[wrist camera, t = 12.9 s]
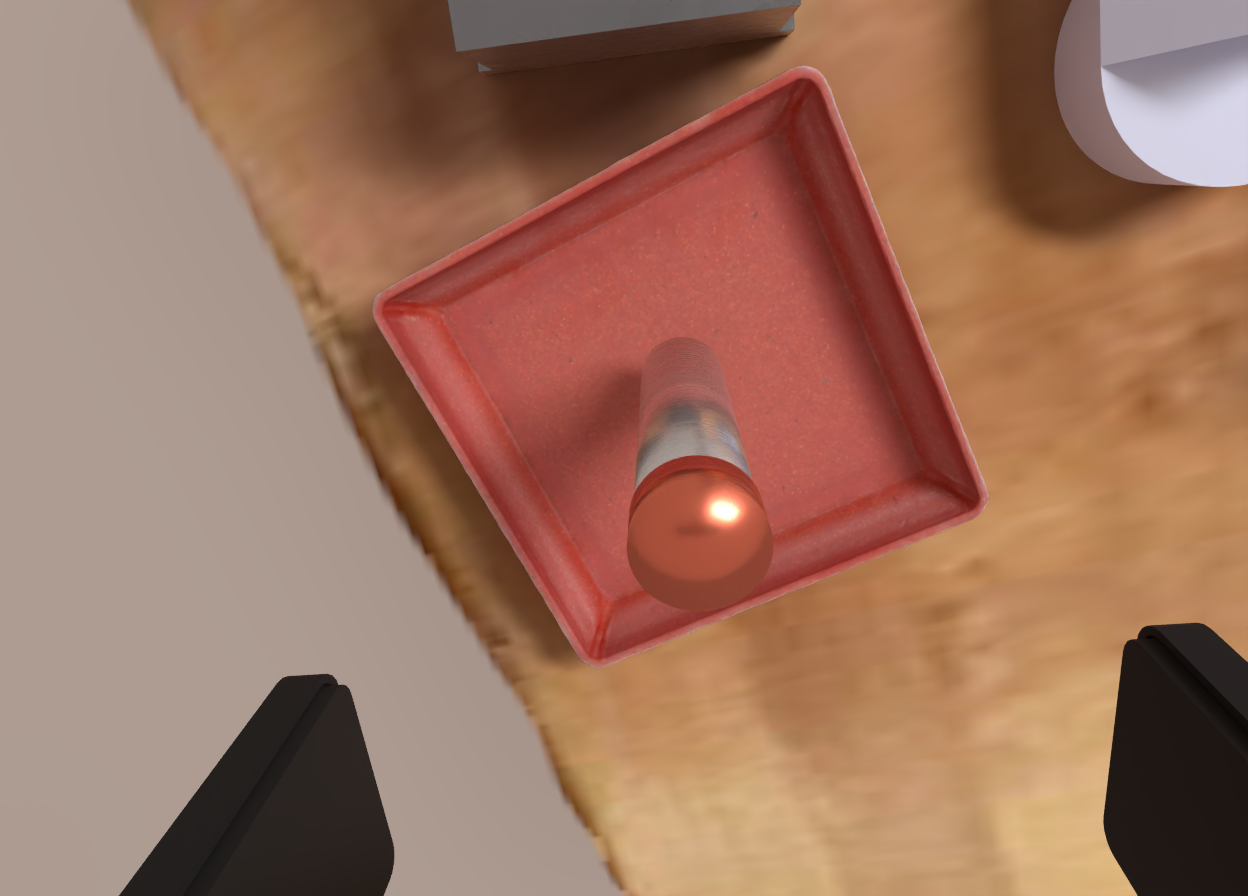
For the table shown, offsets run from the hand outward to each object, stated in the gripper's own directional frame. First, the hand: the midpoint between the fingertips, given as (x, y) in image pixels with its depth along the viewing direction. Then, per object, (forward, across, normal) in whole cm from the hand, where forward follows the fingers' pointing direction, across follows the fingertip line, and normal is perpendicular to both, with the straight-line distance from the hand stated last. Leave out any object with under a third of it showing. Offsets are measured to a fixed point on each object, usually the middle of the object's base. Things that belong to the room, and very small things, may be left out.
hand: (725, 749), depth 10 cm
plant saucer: (+25, +1, +2) cm, 25 cm away
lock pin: (+21, +1, +1) cm, 21 cm away
